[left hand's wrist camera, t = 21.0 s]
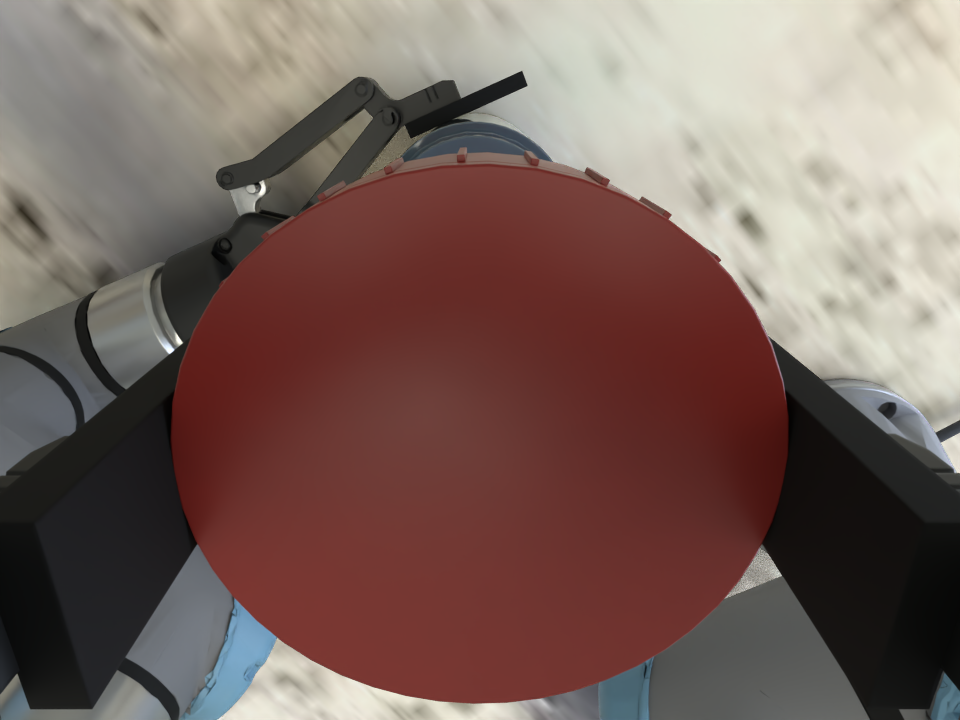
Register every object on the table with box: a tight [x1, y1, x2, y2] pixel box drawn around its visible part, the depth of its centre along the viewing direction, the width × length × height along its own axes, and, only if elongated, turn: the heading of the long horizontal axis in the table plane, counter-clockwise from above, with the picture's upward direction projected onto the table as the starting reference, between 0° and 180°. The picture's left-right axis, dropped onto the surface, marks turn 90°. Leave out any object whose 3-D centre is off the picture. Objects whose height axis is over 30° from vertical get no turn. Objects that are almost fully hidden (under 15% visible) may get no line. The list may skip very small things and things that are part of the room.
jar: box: [400, 113, 553, 162], centre depth 35 cm, size 9×9×16 cm
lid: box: [170, 147, 789, 704], centre depth 11 cm, size 10×10×2 cm
